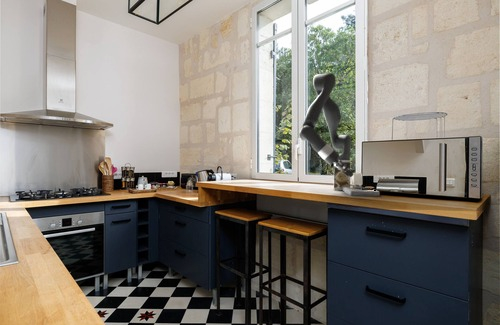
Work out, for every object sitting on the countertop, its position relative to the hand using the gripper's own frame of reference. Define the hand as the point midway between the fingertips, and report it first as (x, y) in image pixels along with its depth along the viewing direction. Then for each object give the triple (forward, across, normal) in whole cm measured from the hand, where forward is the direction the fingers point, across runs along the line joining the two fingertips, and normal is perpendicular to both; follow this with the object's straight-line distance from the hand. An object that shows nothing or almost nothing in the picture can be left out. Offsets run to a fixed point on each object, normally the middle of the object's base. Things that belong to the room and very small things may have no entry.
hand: (350, 175), depth 148 cm
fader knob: (+7, 0, +2) cm, 7 cm away
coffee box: (+4, +12, +8) cm, 15 cm away
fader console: (+9, -6, +4) cm, 11 cm away
